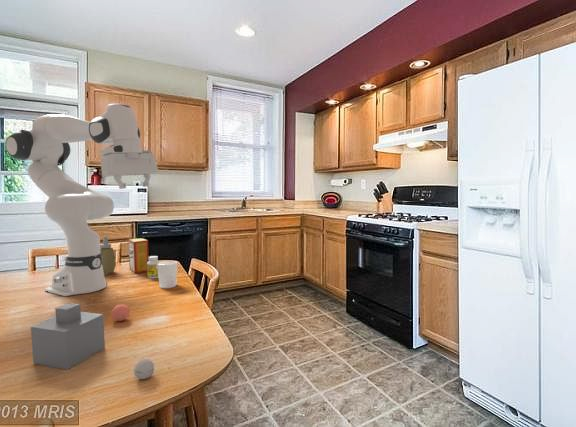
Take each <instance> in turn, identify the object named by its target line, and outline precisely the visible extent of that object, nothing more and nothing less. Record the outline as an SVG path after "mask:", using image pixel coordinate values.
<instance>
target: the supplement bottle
mask: <svg viewBox="0 0 576 427" xmlns="http://www.w3.org/2000/svg"><path fill="white" fill-rule="evenodd" d="M158 259H159V256H158V255H149V257H148V260H149V261H148V262H147V272H146V273H147V278H148V279H159V277H158V267H157V263H159V262H160V261H159V260H158Z"/></svg>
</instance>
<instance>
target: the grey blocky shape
mask: <svg viewBox="0 0 576 427" xmlns="http://www.w3.org/2000/svg"><path fill="white" fill-rule="evenodd" d="M54 311H55V317H52V318H49V319H47V320H44V321H42V322H40V323H37V324H35V325H32V326H30V333H31V334H30V335H31V345H32V346H31V347H32V348H31V349H32V364H34V363H35V365H41V366H45V367H51V368H57V369H61V370H69V368H70V369H71V368H72V367H74V365H75V366H76V365H78V364H80V363H81V362H83V361H85V360H86V359H88V358H90V357H92V356H93V355H95V354H97V353H99V352H100V351H102V350H103V349H105V348H106V345H105V326H104V325H105V324H104V323H105V322H104V314H103V313H96V312H87V311H81V303H72V302H68V303H66V304H63V305H60V306H57V307H55V310H54Z"/></svg>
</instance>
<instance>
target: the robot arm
mask: <svg viewBox="0 0 576 427" xmlns="http://www.w3.org/2000/svg"><path fill="white" fill-rule="evenodd" d="M87 141H89V142H90V141H94V142H95V143H97V144H100V145H109V146H107V147H103V148H102V149H100V150H99V153H100V155H101V157H100V169H101V172H102V175H103V176H104V177H106V178H107V177H113V179H114V181H115V182H116V183H117V184H118V189H120V190H123V189H127V185H126V183H125V182H123V181H122V178H123V176H124V177H125V176H141V175H143V178H144V181H142V187H144V188H145V187H149V186H150V179H151V175H155V174H157V173H158V172H159V169H158V164H157V162H156V158H155V154H154V152H152V151H151V150H149V149H145V150H144V149H142V144H141V130H140V129H139V127H138V122H137V117H136V115H135V111H134V109H133V108H132V107H131V106H130V105H128V104H123V103H110V104H108V105H107V107H106V109H105V111H104V112H103V113H102V114H101V115H99V116H98V117H94V118H93V119H92V120H90V121H88V120H85V119H81V118H78V117H76V116H75V117H74V116H71V115H67V114H59V113H57V114H56V113H50V114H45V115H41V116H39V117H37V118H35V119H34V120H33V123H32V129H31V130H26V129H25V128H23V129H21V130H19V131H17V132H14V133H12V134H11V135H9V136H8V137H7V138H6V140H5V149H6V151H7V154H8V155H9V156H10V157H11V158H13V159H15V160H20V161H32V163H31V164H30V165H28V168H27V173H28V176H29V178H30V179H31V181H32V182H33V183H34V184H35V185H36V186H37V187H38V189H39V190H40V191H42V193H44V194H45V195H46V196H47V197H48V198H47V201H46V203H45V204H44V211H45V214H46V216H47V217H48V219H50V220H51V221H53V222H54V223H55V224H57V226H59V227H60V228H61V230H62V231H63V233H64V235H65V238H66V246H67V255H66V257H63V258H62V260H63V261H65V262H64V266H63V267H61V269H58V271H57V272H55V273H54V274H53V275H52V280H51V283H52V284H51V285H50V286H47V287H46V288H45V289H44V291H45V292H47V291H48V293H51V294H55V295H59V296H63V297H68V296H73V295H74V296H75V295H81V294H82V295H83V294H89V293H94V292H97V291H100V290H103V289H105V288H107V283H108V282H107V279H105V274H104V271H103V266H102V264H101V262H102V253H100V244H101V240H100V235H99V233H98V232H96V231H95V230H94V229H93V230H92V229H91V228H90V226H89V225H88V221H96V220H101V219H105V218H107V217H109V216H111V215H112V214H113V212H114V209H115V204H114V202H113V200H112V198H111V196H109V195H106V194H103V193H100V192H97V191H95V190H93V189H91V188H89V187H88V186H85V185H83V184H81V183H79V182H77V181H76V180H74V178H72V177H70V176H69V175H68V174H67V173H66V172H65V171H64V170H63V169H61V168H60V167H59V166H61V165H63V164H64V163H65V162H66V161H67V160H68V158H69V157H70V154H71V145H70V144H71V143H79V142H87ZM63 261H62V262H63Z"/></svg>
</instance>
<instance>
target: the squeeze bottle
mask: <svg viewBox="0 0 576 427" xmlns="http://www.w3.org/2000/svg"><path fill="white" fill-rule="evenodd" d="M100 253H102V262H101V264H102V266H103V271H104V275H110V274H113V273H114V272H115V269H116V266H117V263H116V257H115V251H114V248H113V247H112V244H111V242H110V243H109V240H108V237H107V236H103V239H102V243H100Z"/></svg>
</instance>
